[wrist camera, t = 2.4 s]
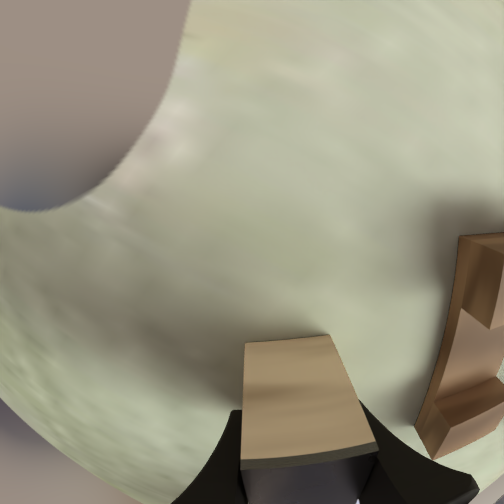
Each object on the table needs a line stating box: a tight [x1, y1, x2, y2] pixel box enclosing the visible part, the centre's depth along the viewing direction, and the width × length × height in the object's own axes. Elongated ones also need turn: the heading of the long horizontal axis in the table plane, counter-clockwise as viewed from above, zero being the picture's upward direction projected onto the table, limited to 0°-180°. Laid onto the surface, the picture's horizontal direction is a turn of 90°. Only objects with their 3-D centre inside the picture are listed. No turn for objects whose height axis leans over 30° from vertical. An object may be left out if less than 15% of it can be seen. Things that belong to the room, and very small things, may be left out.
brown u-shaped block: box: [414, 232, 504, 461], centre depth 12 cm, size 14×6×4 cm, turn 5°
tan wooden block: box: [240, 335, 379, 504], centre depth 10 cm, size 5×4×7 cm
